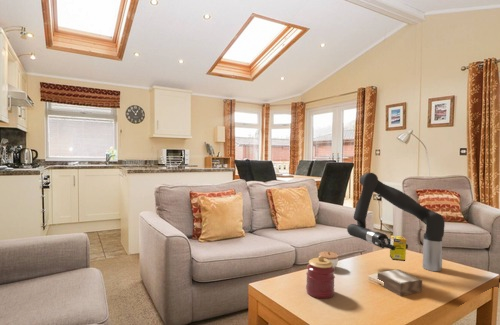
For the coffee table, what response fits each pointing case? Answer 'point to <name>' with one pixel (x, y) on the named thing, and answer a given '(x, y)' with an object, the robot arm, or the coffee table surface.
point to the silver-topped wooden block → (400, 282)
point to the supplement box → (398, 248)
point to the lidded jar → (330, 257)
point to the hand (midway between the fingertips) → (401, 247)
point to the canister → (320, 278)
